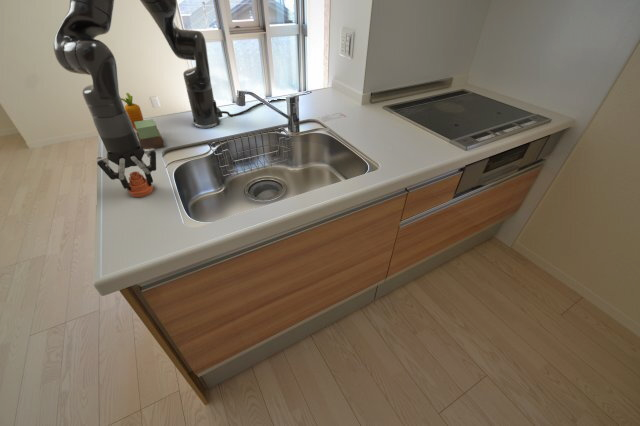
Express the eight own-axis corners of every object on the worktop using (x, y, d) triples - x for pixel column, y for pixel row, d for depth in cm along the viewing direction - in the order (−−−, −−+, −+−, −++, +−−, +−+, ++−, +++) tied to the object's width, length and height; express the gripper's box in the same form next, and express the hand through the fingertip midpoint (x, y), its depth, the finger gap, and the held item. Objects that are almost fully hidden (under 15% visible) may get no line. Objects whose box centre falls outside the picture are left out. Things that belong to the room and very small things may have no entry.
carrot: (143, 138, 108) (128, 97, 99) (131, 136, 109) (115, 95, 99) (151, 132, 112) (138, 92, 102) (139, 131, 113) (125, 91, 103)
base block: (161, 138, 109) (157, 128, 106) (164, 147, 105) (161, 136, 102) (140, 142, 106) (136, 132, 103) (142, 151, 102) (138, 140, 99)
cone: (151, 183, 88) (144, 164, 84) (154, 193, 84) (147, 174, 80) (128, 188, 85) (120, 169, 81) (131, 199, 82) (122, 180, 77)
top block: (156, 129, 106) (153, 118, 103) (159, 136, 102) (156, 125, 99) (138, 132, 103) (134, 121, 101) (140, 139, 99) (136, 128, 97)
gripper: (81, 142, 67) (111, 200, 78) (150, 130, 73) (169, 186, 84) (81, 129, 72) (109, 185, 83) (145, 119, 78) (164, 173, 89)
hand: (139, 185), depth 83 cm, fingers closed on cone, 4 cm apart
